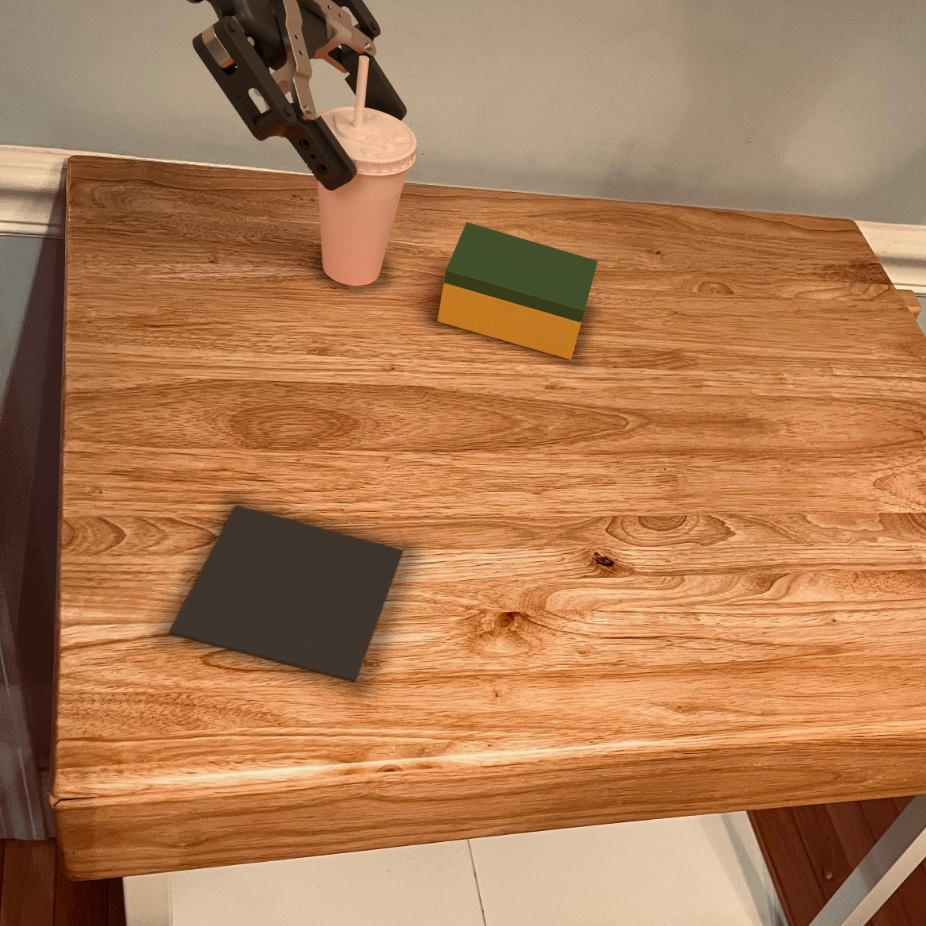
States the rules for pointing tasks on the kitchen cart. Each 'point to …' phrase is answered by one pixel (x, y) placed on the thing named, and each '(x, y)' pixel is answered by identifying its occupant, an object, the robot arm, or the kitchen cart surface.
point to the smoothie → (363, 188)
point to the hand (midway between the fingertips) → (370, 151)
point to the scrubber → (516, 290)
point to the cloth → (290, 593)
